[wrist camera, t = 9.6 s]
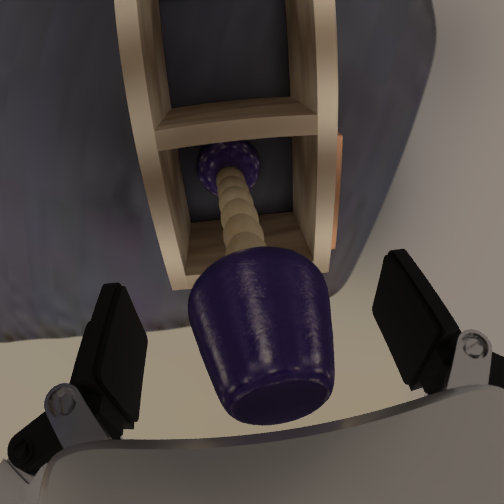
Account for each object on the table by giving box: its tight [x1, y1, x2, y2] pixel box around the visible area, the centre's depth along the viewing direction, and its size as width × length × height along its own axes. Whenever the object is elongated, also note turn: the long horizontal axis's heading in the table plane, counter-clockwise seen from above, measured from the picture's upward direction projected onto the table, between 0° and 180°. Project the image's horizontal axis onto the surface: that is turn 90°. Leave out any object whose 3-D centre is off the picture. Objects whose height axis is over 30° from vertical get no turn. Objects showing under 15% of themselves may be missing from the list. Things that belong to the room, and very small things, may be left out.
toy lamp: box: [188, 140, 335, 425], centre depth 14 cm, size 5×5×17 cm
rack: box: [114, 0, 343, 290], centre depth 14 cm, size 26×10×6 cm, turn 4°
